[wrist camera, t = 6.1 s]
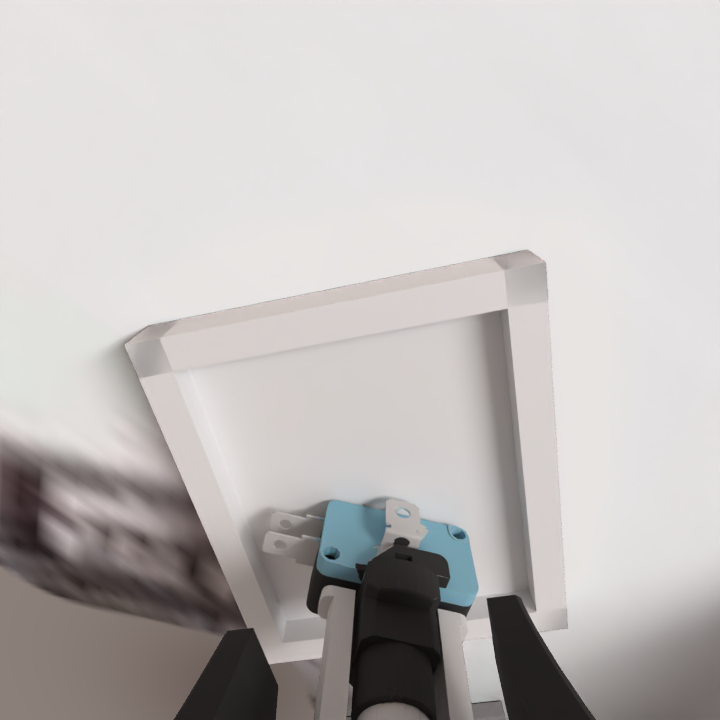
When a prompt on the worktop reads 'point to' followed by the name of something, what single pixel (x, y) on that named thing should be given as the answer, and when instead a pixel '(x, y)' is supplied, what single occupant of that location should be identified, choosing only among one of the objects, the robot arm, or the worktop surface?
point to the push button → (385, 609)
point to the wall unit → (484, 711)
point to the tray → (370, 429)
